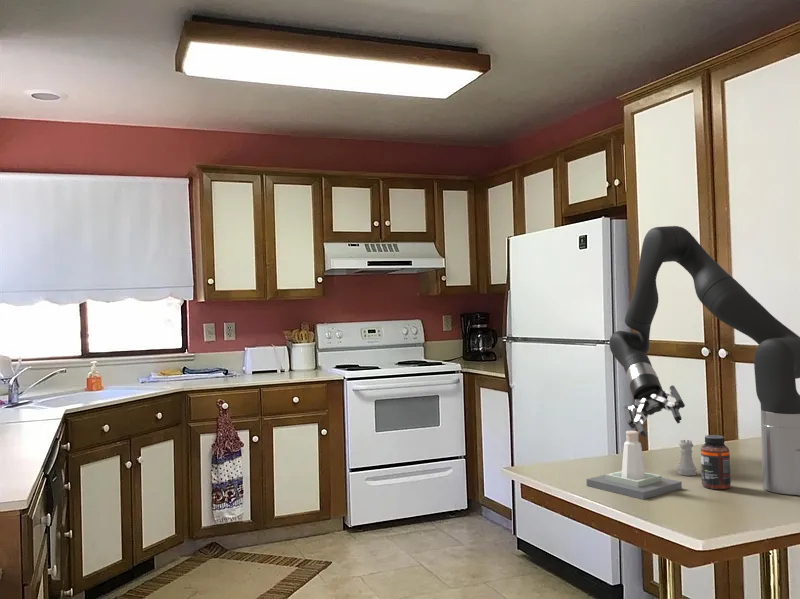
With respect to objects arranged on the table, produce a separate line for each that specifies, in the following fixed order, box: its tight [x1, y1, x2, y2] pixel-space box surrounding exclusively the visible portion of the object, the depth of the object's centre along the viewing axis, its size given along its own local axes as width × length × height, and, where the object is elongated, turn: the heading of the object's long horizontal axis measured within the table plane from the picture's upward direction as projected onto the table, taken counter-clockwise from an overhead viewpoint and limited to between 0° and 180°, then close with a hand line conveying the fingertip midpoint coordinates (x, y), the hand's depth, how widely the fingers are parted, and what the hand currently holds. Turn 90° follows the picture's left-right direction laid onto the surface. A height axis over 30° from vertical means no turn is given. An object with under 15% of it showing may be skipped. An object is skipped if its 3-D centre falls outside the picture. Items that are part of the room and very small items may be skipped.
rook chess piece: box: [676, 439, 697, 477], centre depth 171 cm, size 4×4×8 cm
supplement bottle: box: [700, 434, 732, 491], centre depth 159 cm, size 6×6×11 cm
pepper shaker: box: [621, 430, 646, 480], centre depth 160 cm, size 5×5×11 cm
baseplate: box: [586, 470, 683, 500], centre depth 160 cm, size 15×14×3 cm
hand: (661, 428), depth 173 cm, fingers open, 8 cm apart
